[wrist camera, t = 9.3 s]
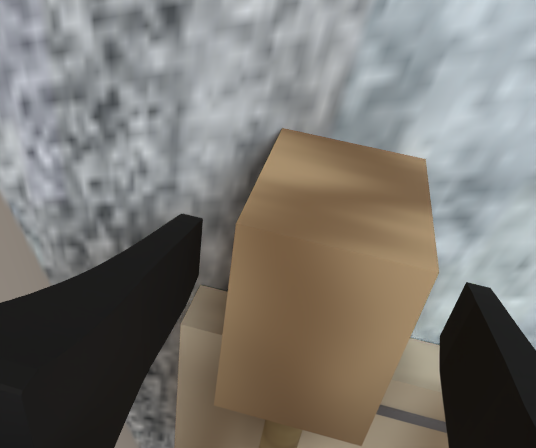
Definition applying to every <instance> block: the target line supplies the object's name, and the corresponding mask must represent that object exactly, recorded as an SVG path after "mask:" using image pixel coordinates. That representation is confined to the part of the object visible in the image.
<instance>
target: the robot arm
mask: <svg viewBox="0 0 536 448" xmlns="http://www.w3.org/2000/svg"><path fill="white" fill-rule="evenodd" d="M202 222H203V219H202V218H198V217H194V216H190V215H186V214H180V215H179V216H177V217H176V218H174V219H172V220H171V221H169V222H168V223H167V224H165V225H164V226H162V227H161V228H159V229H158V230H156V231H155V232H153V233H152V234H150V235H149V236H147V237H146V238H144V239H142V240H141V241H139V242H138V243H136V244H135V245H133V246H131V247H130V248H128V249H127V250H125V251H123V252H122V253H120V254H118V255H116V256H114V257H113V258H111V259H109V260H107V261H106V262H104V263H102V264H100V265H98V266H96V267H94V268H92V269H90V270H88V271H86V272H84V273H82V274H79V275H77V276H75V277H73V278H70V279H68V280H66V281H63V282H61V283H58V284H55V285H53V286H50V287H47V288H44V289H42V290H39V291H37V292H34V293H31V294H28V295H25V296H22V297H18V298H15V299H12V300H9V301H5V302H2V303H0V448H114V447H115V444H116V442H117V440H118V437H119V435H120V433H121V430H122V428H123V426H124V423H125V421H126V419H127V416H128V414H129V412H130V409H131V407H132V405H133V403H134V400H135V398H136V396H137V394H138V391H139V389H140V387H141V385H142V382H143V380H144V378H145V377H146V375H147V373H148V371H149V369H150V367H151V365H152V364H153V362H154V360H155V358H156V357H157V355H158V353H159V351H160V350H161V348H162V346H163V345H164V343H165V341H166V339H167V338H168V336H169V334H170V332H171V331H172V329H173V327H174V326H175V324H176V322H177V320H178V319H179V317H180V315H181V313H182V312H183V310H184V308H185V306H186V304H187V302H188V300H189V297H190V295H191V292H192V290H193V288H194V285H195V283H196V280H197V278H198V275H199V263H200V250H201V236H202ZM439 372H440V381H441V389H442V398H443V406H444V414H445V421H446V429H447V437H448V445H449V448H536V350H535V349H534V347H533V346H532V345H531V343H530V342H529V341H528V339H527V338H526V337H525V335H524V334H523V333H522V331H521V330H520V328H519V327H518V326H517V324H516V323H515V321H514V320H513V319H512V317H511V316H510V314H509V313H508V312H507V310H506V309H505V307H504V306H503V305H502V303H501V302H500V300H499V299H498V298H497V296H496V295H495V293H494V292H493V291H492V290H491V288H488V287H484V286H480V285H476V284H472V283H468V282H466V284H465V286H464V288H463V290H462V292H461V294H460V296H459V298H458V300H457V302H456V304H455V307H454V309H453V311H452V313H451V315H450V317H449V319H448V321H447V323H446V325H445V327H444V329H443V331H442V333H441V335H440V352H439Z"/></svg>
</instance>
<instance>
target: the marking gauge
mask: <svg viewBox="0 0 536 448" xmlns="http://www.w3.org/2000/svg"><path fill="white" fill-rule="evenodd" d="M438 274H439V267H438V259H437V251H436V242H435V234H434V226H433V217H432V209H431V201H430V192H429V184H428V175H427V167H426V159H422V158H417V157H413V156H408V155H404V154H399V153H395V152H390V151H385V150H381V149H376V148H372V147H367V146H362V145H358V144H353V143H349V142H344V141H339V140H335V139H330V138H326V137H321V136H316V135H312V134H307V133H303V132H298V131H293V130H289V129H284V128H282V130H281V132H280V134H279V136H278V138H277V140H276V142H275V144H274V146H273V149H272V151H271V153H270V155H269V157H268V159H267V161H266V163H265V165H264V167H263V169H262V171H261V173H260V175H259V177H258V179H257V181H256V183H255V186H254V188H253V190H252V192H251V194H250V196H249V198H248V200H247V202H246V204H245V206H244V208H243V210H242V212H241V214H240V216H239V218H238V221H237V223H236V228H235V236H234V244H233V252H232V261H231V269H230V277H229V285H228V293H227V302H226V310H225V318H224V326H223V334H222V343H221V351H220V359H219V367H218V375H217V384H216V392H215V400H214V406H218V407H222V408H225V409H229V410H232V411H236V412H240V413H243V414H247V415H251V416H254V417H258V418H261V419H265V424H264V428H263V432H262V437H261V441H260V445H259V448H297V446H298V443H299V440H300V437H301V433H302V430H305V431H308V432H312V433H315V434H319V435H323V436H326V437H330V438H333V439H337V440H341V441H344V442H348V443H351V444H355V445H359V446H362V444H363V442H364V440H365V437H366V435H367V433H368V431H369V428H370V426H371V424H372V422H373V419H374V417H375V415H376V413H377V410H378V408H379V406H380V404H381V402H382V399H383V397H384V395H385V393H386V390H387V388H388V386H389V384H390V381H391V379H392V377H393V375H394V372H395V370H396V368H397V366H398V363H399V361H400V359H401V357H402V354H403V352H404V350H405V348H406V345H407V343H408V341H409V339H410V336H411V334H412V332H413V330H414V327H415V325H416V323H417V321H418V318H419V316H420V314H421V312H422V309H423V307H424V305H425V303H426V301H427V298H428V296H429V294H430V292H431V289H432V287H433V285H434V283H435V280H436V278H437V276H438Z"/></svg>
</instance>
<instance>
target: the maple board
mask: <svg viewBox="0 0 536 448" xmlns="http://www.w3.org/2000/svg"><path fill="white" fill-rule="evenodd" d="M227 293H228V292H227V291H223V290H219V289H215V288H211V287H207V286H203V285H200V286H199V288H198V290H197V292H196V294H195V296H194V298H193V300H192V302H191V304H190V306H189V308H188V310H187V312H186V314H185V316H184V318H183V320H182V322H181V326H180V346H179V366H178V386H177V406H176V426H175V446H174V448H259V445H260V441H261V437H262V432H263V428H264V424H265V419H261V418H258V417H254V416H251V415H247V414H243V413H240V412H236V411H232V410H229V409H225V408H222V407H218V406H214V400H215V392H216V384H217V375H218V367H219V359H220V351H221V343H222V334H223V326H224V318H225V310H226V302H227ZM439 352H440V345H436V344H432V343H428V342H424V341H421V340H417V339H413V338H410V339H409V341H408V343H407V345H406V348H405V350H404V352H403V354H402V357H401V359H400V361H399V363H398V366H397V368H396V370H395V372H394V375H393V377H392V379H391V381H390V384H389V386H388V388H387V390H386V393H385V395H384V397H383V399H382V402H381V404H380V406H379V408H378V410H377V413H376V415H375V417H374V419H373V422H372V424H371V426H370V428H369V431H368V433H367V435H366V437H365V440H364V442H363V444H362V446H359V445H355V444H351V443H348V442H344V441H341V440H337V439H333V438H330V437H326V436H323V435H319V434H315V433H312V432H308V431H305V430H302V433H301V437H300V440H299V443H298V446H297V448H449V445H448V437H447V429H446V421H445V414H444V406H443V398H442V389H441V381H440V372H439Z"/></svg>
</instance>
